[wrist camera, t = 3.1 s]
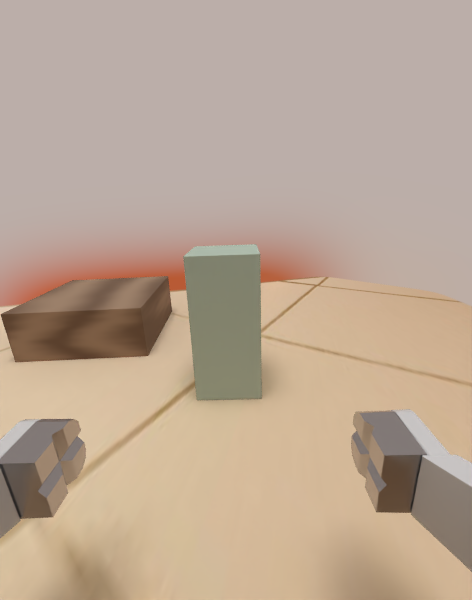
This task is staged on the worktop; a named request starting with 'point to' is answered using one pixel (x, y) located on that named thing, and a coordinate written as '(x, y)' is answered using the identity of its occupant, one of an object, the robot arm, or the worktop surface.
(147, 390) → the worktop surface
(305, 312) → the worktop surface
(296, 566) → the worktop surface
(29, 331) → the walnut block
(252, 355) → the sage block
